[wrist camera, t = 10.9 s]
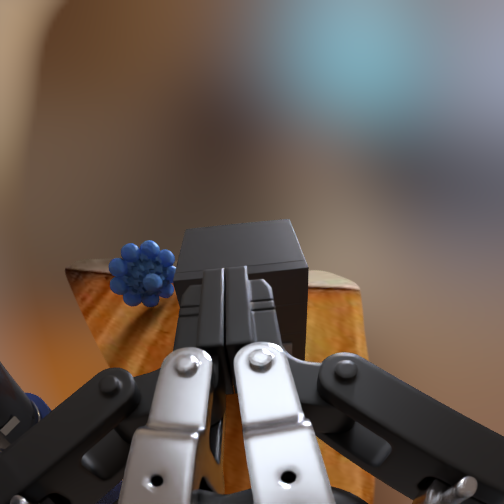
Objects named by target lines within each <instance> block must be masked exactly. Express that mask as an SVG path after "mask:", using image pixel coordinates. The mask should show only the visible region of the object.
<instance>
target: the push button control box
mask: <svg viewBox="0 0 504 504" xmlns="http://www.w3.org/2000/svg"><path fill="white" fill-rule="evenodd" d="M240 266H247V272H248V280H257V279H264V280H265V281H266V282H267V283H268V284H269V285H270V286H271V287H272V292H273V298H274V303H275V309H276V314H277V319H278V325H279V330H280V335H281V341H282V345H283V347H284V349H285V350H286V351H287V352H288V353H289V354H290V355H291V356H293V357H295V358H297V359H299V360H303V361H304V360H305V344H306V323H307V301H308V265H307V263H306V260H305V258H304V255H303V253H302V250H301V247H300V245H299V242H298V240H297V237H296V235H295V232H294V229H293V227H292V225H291V222H290V220H289V219H284V220H273V221H262V222H251V223H241V224H231V225H222V226H212V227H203V228H194V229H186V231H185V235H184V238H183V243H182V246H181V250H180V254H179V258H178V262H177V266H176V270H175V274H174V278H173V284H174V287H175V291H176V295H177V299H178V302H179V306H180V305H181V299H182V295H183V294H184V292H185V291H186V290H187V288H188V287H189V286H190V285H202V277H203V270H207V269H218V268H225V272H226V268H229V267H240ZM233 385H234V383H233Z"/></svg>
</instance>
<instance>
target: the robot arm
mask: <svg viewBox="0 0 504 504" xmlns="http://www.w3.org/2000/svg"><path fill="white" fill-rule="evenodd" d="M233 383H234V388H235V393H236V394H237V393H238V399H239V406H240V413H241V419H242V427H243V438H244V445H245V451H246V458H247V464H248V470H249V476H250V482H251V489H248V490H244V491H241V492H237V493H233V494H229V495H224V476H223V454H224V439H225V425H226V412H225V411H226V394H233ZM315 435H316V436H317V437H318V438H319V439H321V440H322V441H324V442H325V443H326V444H328V445H329V446H330V447H332V448H333V449H335V450H336V451H337V452H339V453H340V454H342V455H343V456H345V457H346V458H347V459H349V460H350V461H352V462H353V463H355V464H356V465H358V466H359V467H361V468H362V469H364V470H365V471H367V472H368V473H370V474H371V475H373V476H374V477H376V478H378V479H379V480H381V481H382V482H384V483H385V484H387V485H389V486H390V487H392V488H394V489H395V490H397V491H399V492H400V493H402V494H404V495H405V496H407V497H409V498H410V499H412V500H413V503H412V504H504V436H502V435H500V434H498V433H496V432H494V431H492V430H490V429H488V428H487V427H484V426H483V425H481V424H479V423H477V422H475V421H473V420H472V419H470V418H468V417H466V416H464V415H462V414H460V413H459V412H457V411H455V410H453V409H451V408H450V407H448V406H446V405H444V404H442V403H441V402H438V401H437V400H435V399H433V398H432V397H430V396H428V395H426V394H424V393H422V392H421V391H419V390H417V389H416V388H414V387H412V386H410V385H409V384H407V383H405V382H403V381H402V380H399V379H398V378H396V377H395V376H393V375H391V374H389V373H388V372H386V371H384V370H383V369H381V368H379V367H377V366H376V365H374V364H372V363H371V362H369V361H367V360H366V359H364V358H362V357H360V356H358V355H356V354H353V353H346V352H342V353H336V354H333V355H331V356H329V357H327V358H326V359H325V360H324V361H323V362H322V363H316V362H308V361H303V360H299V359H297V358H295V357H293V356H291V355H290V354H289V353H288V352H287V351H286V350H285V349H284V347H283V345H282V341H281V335H280V330H279V325H278V319H277V314H276V309H275V303H274V298H273V292H272V287H271V286H270V285H269V284H268V283H267V282H266V281H265V280H264V279H257V280H248V272H247V266H240V267H229V268H226V272H225V268H218V269H207V270H203V277H202V285H190V286H189V287H188V288H187V290H186V291H185V292H184V294H183V295H182V299H181V305H180V311H179V318H178V323H177V329H176V335H175V342H174V349H173V352H172V353H170V354H169V355H168V356H167V357H166V358H165V359H164V361H163V363H162V366H161V368H159V369H158V370H156V371H153V372H150V373H147V374H143V375H140V376H136V377H132V375H131V374H130V373H129V372H128V371H126V370H124V369H122V368H109V369H105V370H103V371H101V372H100V373H98V374H97V375H95V376H94V377H93V378H92V379H91V380H89V381H88V382H87V383H86V384H84V385H83V386H82V387H81V388H79V389H78V390H77V391H76V392H75V393H73V394H72V395H71V396H70V397H68V398H67V399H66V400H65V401H64V402H62V403H61V404H60V405H59V406H57V407H56V408H55V409H54V410H52V411H51V412H50V413H49V414H47V415H46V416H45V417H44V418H43V419H42V415H41V412H40V410H39V408H38V407H37V406H36V404H35V403H34V402H33V401H32V400H31V399H29V397H28V396H27V395H26V394H25V393H24V392H23V390H22V389H21V388H20V387H19V385H18V384H17V383H16V382H15V381H14V379H13V378H12V377H11V375H10V374H9V373H8V371H7V370H6V369H5V367H4V366H3V365H2V364H1V362H0V452H1V453H0V504H95V503H96V502H98V501H99V500H100V499H101V498H102V497H103V496H104V495H106V494H107V493H108V492H109V491H110V490H111V489H112V488H113V487H115V486H116V485H117V484H118V483H119V482H120V481H121V480H122V479H123V482H122V486H121V491H120V496H119V500H117V501H116V502H114V503H113V504H368V503H366V502H365V501H364V500H362V499H361V498H359V497H358V496H356V495H354V494H352V493H350V492H347V491H345V490H342V489H339V488H335V487H331V486H330V482H329V479H328V476H327V472H326V469H325V466H324V462H323V459H322V456H321V452H320V449H319V446H318V442H317V439H316V436H315Z"/></svg>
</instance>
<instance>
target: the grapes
mask: <svg viewBox="0 0 504 504" xmlns="http://www.w3.org/2000/svg"><path fill="white" fill-rule="evenodd" d="M121 256H122V258H123V259H124V260H123V259H121V258H115V259H113V260H111V261H110V263H109V271H110V273H111V274H112V275H114V276H116V277H114V278H113V279H112V280H111V281H110V289H111V290H112V291H113V292H114V293H116V294H118V295H123V300H124V302H125V303H126V304H127V305H129V306H137V305H139V304H140V303H141V302H142V303H143V304H144V305H145V306H147V307H154V306H156V305H158V302H159V296H160V297H162V298H169V297H170V296H172V295H173V292H174V287H173V286H172V284H171V283H173V278H174V274H175V270H176V267H174V266H172V265H173V263H174V261H175V257H174V255H173V254H172V252H171V251H169V250H161V251H160V250H159V246H158V245H157V244H156V243H155V242H153V241H151V240H150V241H145V242H143V243H142V244H141V246H140V249H139V247H138V246H136V245H134V244H132V243H131V244H126V245H124V246H123V247H122V249H121Z"/></svg>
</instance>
